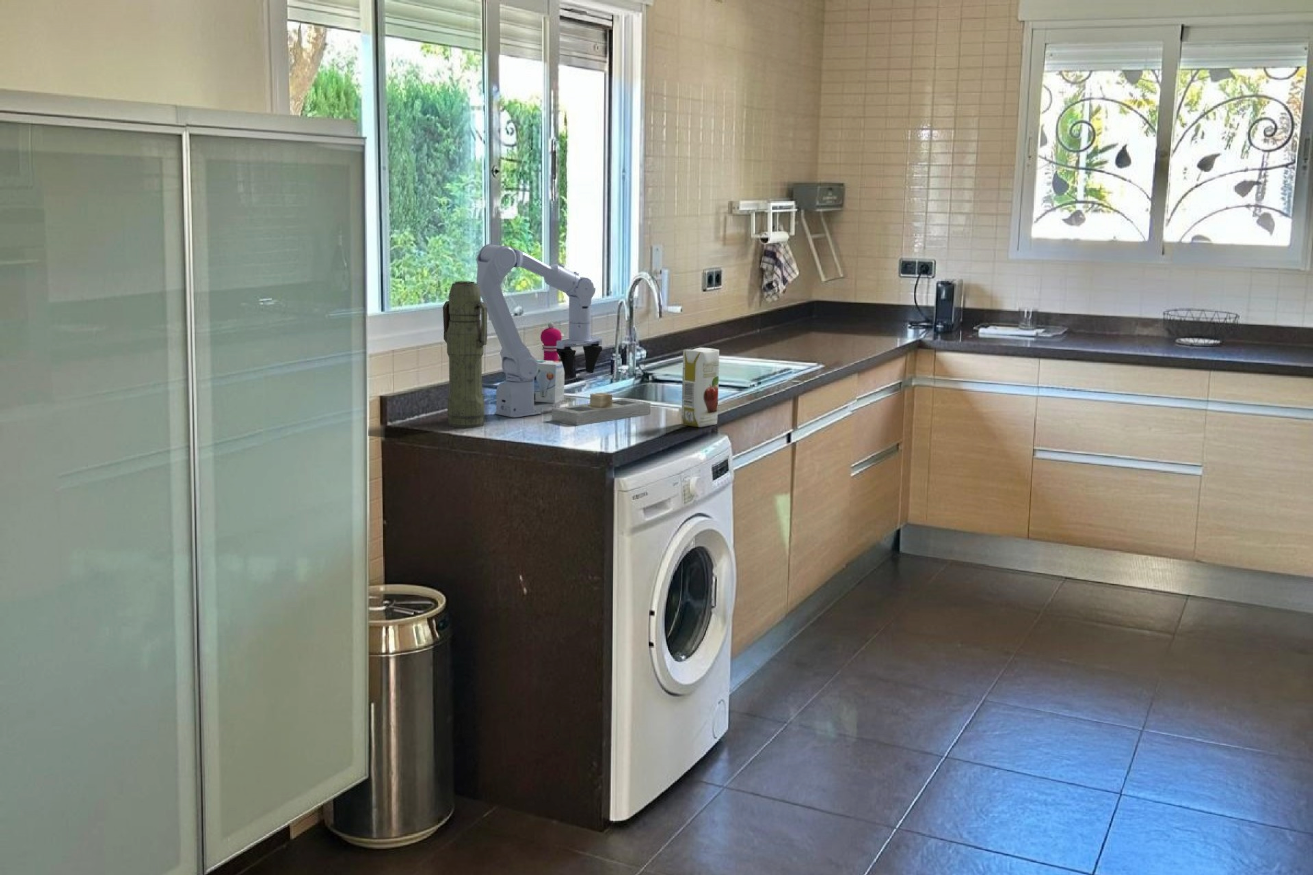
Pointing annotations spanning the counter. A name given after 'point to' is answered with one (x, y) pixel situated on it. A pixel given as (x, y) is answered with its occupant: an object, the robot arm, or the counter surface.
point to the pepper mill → (550, 342)
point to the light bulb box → (549, 382)
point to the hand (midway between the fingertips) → (579, 373)
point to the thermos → (465, 353)
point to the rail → (600, 412)
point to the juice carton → (700, 387)
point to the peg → (601, 400)
